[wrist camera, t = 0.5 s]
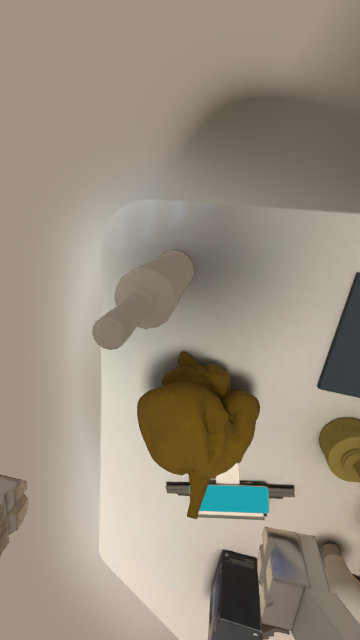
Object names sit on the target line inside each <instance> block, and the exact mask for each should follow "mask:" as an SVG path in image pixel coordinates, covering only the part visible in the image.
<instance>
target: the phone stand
mask: <svg viewBox="0 0 360 640" xmlns="http://www.w3.org/2000/svg"><path fill="white" fill-rule="evenodd" d="M280 480H281V479H280ZM166 489H168V490H167V493H176V494H178V495H184V496H190V483H188V482H176V483H172V482H167V486H166ZM283 497H295V494H294V486H290V485H268V484H252V483H247V482H239V468H238V463H236V464H235V465H234V466H233V467H232V468H231V469H229V470H228V471H227V472H225V473H222V474H219V475H218V476H216V482H209V485H208V487H207V490H206V493H205V496H204V498H203V501H202V503H201V506H200V509H199V513H198V516H197V517H207V518H230V519H254V520H265V519H264V516H267V513H268V512H269V498H278V499H283ZM211 516H212V517H211Z"/></svg>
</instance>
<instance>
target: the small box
mask: <svg viewBox="0 0 360 640" xmlns="http://www.w3.org/2000/svg"><path fill="white" fill-rule="evenodd" d="M260 611H261V610H260V596H259V581H258V560H257V559H253V558H250V557H246V556H242V555H239V554H235V553H232V552H228V551H223V552H222V555H221V558H220V562H219V565H218V568H217V572H216V575H215V578H214V582H213V585H212V588H211V599H210V615H209V631H208V640H259V638H260V635H261V633H262V627H261V612H260Z"/></svg>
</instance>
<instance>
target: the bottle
mask: <svg viewBox="0 0 360 640" xmlns="http://www.w3.org/2000/svg"><path fill="white" fill-rule="evenodd" d="M193 275H194V267H193V263H192V261H191V260H190V258H189V257H188V256H187V255H185V254H184V253H183V252H179V251H169V252H165V253H164V254H162V255H161V256H160V257H158V259H156V260H154V261H151V262H149V263H147V264H145V265H143V266H140V267H138V268H136V269H134V270H132V271H130V272H129V273H127V274H126V275H125V276H123V277H122V278H121V280H120V282H119V283H118V285H117V287H116V293H115V301H116V305H117V307H116V308H114V309H112V310H111V311H109V312H108V313H107V314H105V315H104V316H103V317H101V318H100V319H99V320H98V321H96V323H95V325H94V326H93V336H94V339H95V341H96V342H97V343H98V345H100V346H101V347H103V348H105V349H109V350H112V349H117V348H119V347H120V346H122V345H123V344H124V342H125V341H126V340H127V339H128V338H129V336H130V335H131V334H132V332H133V331H134V329H135V328H136V327H141V328H145V329H148V328H154V327H158V326H160V325H161V324H163V323H164V322H166V321H167V320H168V318H169V317H170V316H171V314H172V313H173V311H174V309H175V307H176V305H177V303H178V301H179V299H180V297H181V295H182V294H183V292H184V290H185V288H186V287H187V286H188V285H189V284H190V282H191V281H192V279H193Z"/></svg>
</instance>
